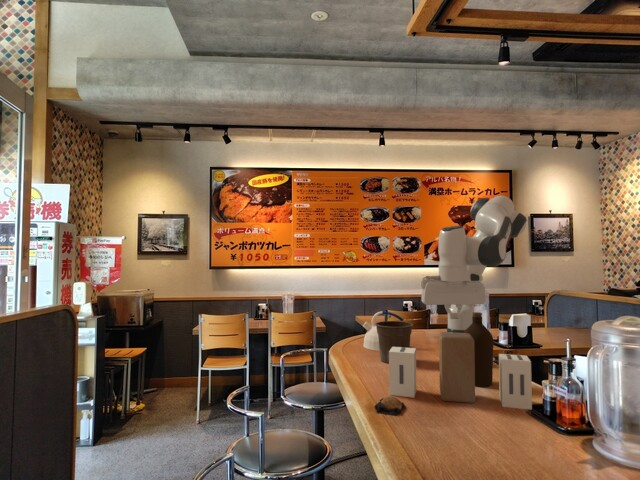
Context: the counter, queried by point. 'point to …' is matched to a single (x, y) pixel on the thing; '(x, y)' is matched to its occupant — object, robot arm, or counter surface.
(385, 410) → the bread roll
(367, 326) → the kettle
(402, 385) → the marked block one
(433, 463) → the counter surface
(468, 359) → the block
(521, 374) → the marked block two
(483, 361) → the olive oil
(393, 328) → the plant pot
